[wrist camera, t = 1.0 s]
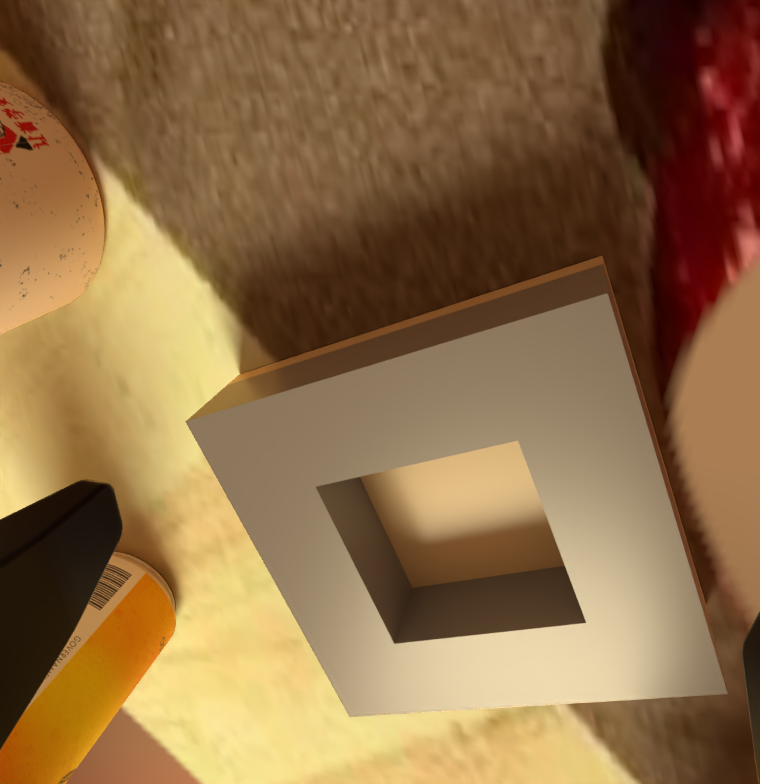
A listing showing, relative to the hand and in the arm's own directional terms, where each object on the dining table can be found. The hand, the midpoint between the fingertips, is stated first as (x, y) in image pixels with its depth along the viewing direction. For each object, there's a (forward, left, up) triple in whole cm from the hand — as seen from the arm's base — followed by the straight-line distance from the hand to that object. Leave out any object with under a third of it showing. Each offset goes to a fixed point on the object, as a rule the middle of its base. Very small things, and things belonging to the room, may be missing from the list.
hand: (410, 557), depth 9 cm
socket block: (-7, +4, -14) cm, 16 cm away
